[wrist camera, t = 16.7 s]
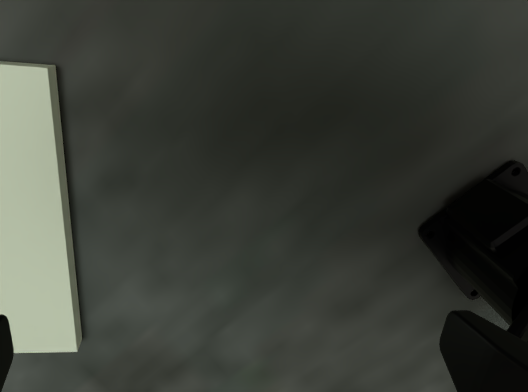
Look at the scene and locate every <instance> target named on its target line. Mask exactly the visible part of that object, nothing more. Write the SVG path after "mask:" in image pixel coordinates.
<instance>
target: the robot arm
mask: <svg viewBox="0 0 528 392" xmlns="http://www.w3.org/2000/svg"><path fill="white" fill-rule="evenodd" d="M514 168H516V169H515V171H514V172H513V173H511V172H512V170H513V169H514ZM429 231H431V233H430V234H429V235H426V234H427V232H429ZM419 236H420V238H421V239H422V240H423V242H424V243H425V244H426V246H427V247H428V248H429V249H430V251H431V252H432V253H433V255H434V256H435V257H436V258H437V260H438V261H439V262H440V264H441V265H442V266H443V267H444V269H445V270H446V271H447V273H448V274H449V275H450V276H451V278H452V279H453V280H454V282H455V283H456V284H457V285H458V287H459V288H460V289H461V291H462V292H463V293H464V294H465V295H466V297H467V298H469V299H471V300H473V299H477V298H479V297H480V296H482V297H483V299H484V300H485V301H486V302H487V303H488V304H489V305H490V306H491V307H492V308H493V309H494V310H495V311H496V312H497V313H498V314H499V315H500V316H501V317H502V318H503V319H504V320H505V321H506V322H507V323H508V324H509V325H510V327H509V328H508V329H507V331H506V330H504V329H502V328H500V327H498V326H497V325H495V324H493V323H491V322H489V321H487V320H486V319H484V318H482V317H480V316H478V315H476V314H475V313H473V312H471V311H466V310H462V311H451V312H450V313H449V314H448V316H447V318H446V321H445V324H444V328H443V331H442V334H441V337H440V343H439V345H440V351H441V353H442V356H443V358H444V361H445V363H446V366H447V368H448V370H449V373H450V375H451V378H452V380H453V383H454V385H455V388H456V390H457V392H528V172H527V170H526V168H525V166H524V165H523V164H522V163H519V162H517V161H510V162H508V163H506V164H505V165H504V166H502V167H501V168H499V169H498V170H497V171H495V172H494V173H493V174H491V175H490V176H489V177H487V178H486V179H485V180H483V181H482V182H481V183H479V184H478V185H477V186H475V187H474V188H473V189H471V190H470V191H468V192H467V193H466V194H464V195H463V196H462V197H460V198H459V199H458V200H456V201H455V202H454V203H452V204H451V205H450V206H448V207H447V208H446V209H444V210H443V211H442V212H440V213H439V214H437V215H436V216H435V217H433V218H432V219H431V220H429V221H428V222H427V223H425V224H424V225H423V226H422V227H421V228H420V229H419ZM472 290H474V291H473V292H472ZM13 354H14V347H13V342H12V336H11V331H10V325H9V320H8V318H7V316H5V315H3V314H0V392H1V391H2V388H3V385H4V382H5V380H6V377H7V374H8V371H9V369H10V366H11V363H12V360H13Z"/></svg>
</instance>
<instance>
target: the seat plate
mask: <svg viewBox="0 0 528 392" xmlns="http://www.w3.org/2000/svg"><path fill="white" fill-rule="evenodd" d="M0 314H3V315H5V316H7V318H8V320H9V325H10V331H11V336H12V342H13V347H14V353H39V352H77V351H78V348H79V346H80V343H81V341H82V332H81V322H80V312H79V301H78V291H77V281H76V271H75V260H74V250H73V240H72V230H71V220H70V209H69V199H68V189H67V179H66V169H65V158H64V148H63V138H62V128H61V117H60V107H59V97H58V87H57V77H56V66H55V65H46V64H33V63H19V62H6V61H0Z"/></svg>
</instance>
